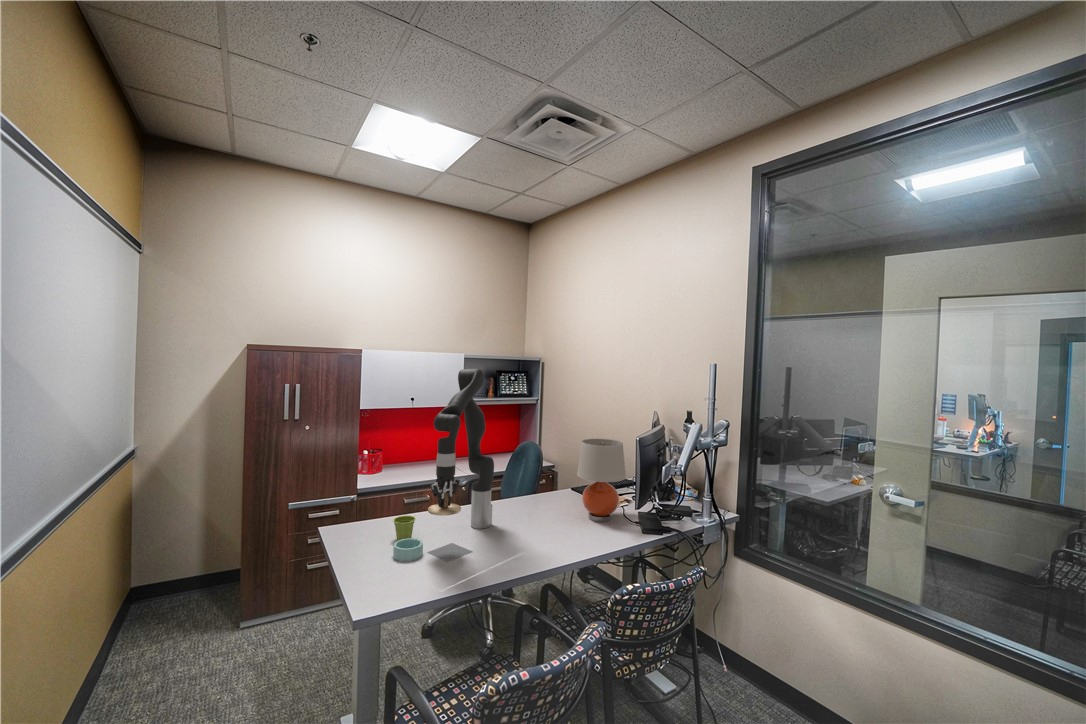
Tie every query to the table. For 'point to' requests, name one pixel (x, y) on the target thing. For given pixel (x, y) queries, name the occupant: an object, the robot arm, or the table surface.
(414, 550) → the bowl
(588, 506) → the lamp
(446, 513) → the lid
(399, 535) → the plant pot
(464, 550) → the mat
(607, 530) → the table surface
